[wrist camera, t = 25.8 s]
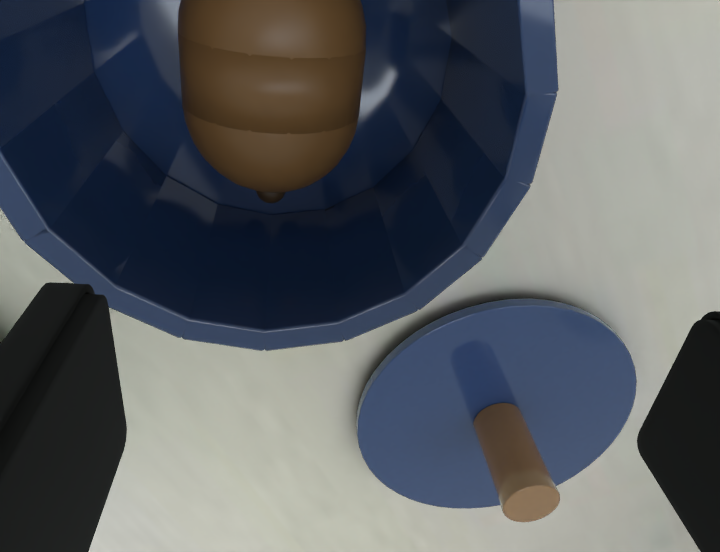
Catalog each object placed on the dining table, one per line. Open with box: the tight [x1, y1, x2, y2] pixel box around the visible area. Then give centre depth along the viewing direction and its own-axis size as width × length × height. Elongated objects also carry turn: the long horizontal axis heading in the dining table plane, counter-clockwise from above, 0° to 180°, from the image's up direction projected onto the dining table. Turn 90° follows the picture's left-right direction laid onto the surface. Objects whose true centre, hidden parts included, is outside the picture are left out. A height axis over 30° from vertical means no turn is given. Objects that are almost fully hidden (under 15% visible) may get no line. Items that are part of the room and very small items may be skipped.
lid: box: [356, 298, 636, 522], centre depth 28 cm, size 15×15×6 cm
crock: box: [0, 0, 558, 351], centre depth 17 cm, size 14×14×8 cm
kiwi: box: [178, 0, 366, 203], centre depth 17 cm, size 8×5×5 cm
